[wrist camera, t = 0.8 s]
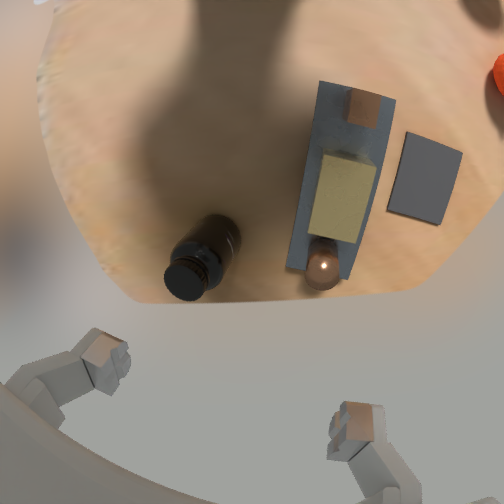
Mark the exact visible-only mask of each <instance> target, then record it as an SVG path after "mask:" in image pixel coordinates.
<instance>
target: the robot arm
mask: <svg viewBox="0 0 504 504" xmlns="http://www.w3.org/2000/svg"><path fill="white" fill-rule="evenodd" d="M127 350H128V344H127V342H126V341H123V340H121V339H119V338H117V337H114V336H112V335H110V334H108V333H106V332H104V331H101V330H99V329H97V328H93V329H91V330H90V331H89V332H88V333H87V334H86V335H85V336H84V337H83V338H82V339H81V340H80V342H79V343H78V344H77V345H76V346H75V347H74V348H73V349H72V350H71V351H70V352H68V351H65V352H62V353H59V354H56V355H53V356H50V357H47V358H44V359H41V360H38V361H35V362H32V363H28V364H25V365H22V366H21V367H20V368H19V369H18V370H17V371H16V372H15V374H14V375H13V376H12V377H11V378H10V379H9V380H8V381H7V382H6V384H5V385H3V384H2V383H1V382H0V504H217V503H213V502H209V501H206V500H203V499H199V498H196V497H193V496H190V495H187V494H184V493H181V492H178V491H176V490H173V489H170V488H167V487H165V486H162V485H160V484H157V483H155V482H153V481H150V480H148V479H146V478H143V477H141V476H139V475H137V474H134V473H132V472H130V471H128V470H126V469H124V468H122V467H120V466H118V465H116V464H114V463H112V462H110V461H108V460H106V459H105V458H103V457H101V456H99V455H98V454H96V453H94V452H92V451H91V450H89V449H87V448H86V447H84V446H82V445H81V444H79V443H78V442H76V441H74V440H73V439H71V438H70V437H68V436H67V435H65V434H64V433H62V432H61V431H59V430H58V428H59V427H60V425H61V424H62V422H63V421H64V420H65V416H64V414H63V413H62V411H61V410H60V409H59V407H60V406H62V405H64V404H66V403H68V402H70V401H72V400H74V399H76V398H78V397H80V396H82V395H84V394H86V393H88V392H90V391H91V390H93V389H94V388H95V389H97V390H99V391H101V392H103V393H105V394H108V395H110V396H112V395H113V393H114V392H115V391H116V389H117V388H118V386H119V379H121V378H123V377H125V376H126V375H127V373H128V372H129V368H130V366H131V357H130V355H129V354H128V352H127ZM329 436H330V437H331V439H332V440H331V441H330V443H329V444H328V450H327V460H335V461H345V462H348V465H349V467H350V469H351V471H352V473H353V475H354V477H355V479H356V480H357V483H358V485H359V487H360V488H361V491H362V492H363V494H364V496H365V498H366V499H365V500H363V501H361V502H359V503H357V504H422V489H421V483H420V482H419V480H418V479H417V478H416V476H415V475H414V474H413V472H412V471H411V470H410V468H409V467H408V466H407V464H406V463H405V462H404V460H403V459H402V457H401V456H400V455H399V453H398V452H397V451H396V449H395V448H394V447H393V445H392V444H391V443H387V433H386V421H385V411H384V407H383V406H382V405H374V404H367V403H358V402H348V401H344V402H343V403H342V404H341V405H340V411H338V412H336V413H335V414H334V416H333V417H332V420H331V422H330V427H329ZM468 504H500V503H499V502H498V501H497V500H496V499H495V498H493V497H487V498H484V499H481V500H478V501H474V502H471V503H468Z"/></svg>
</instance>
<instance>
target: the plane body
mask: <svg viewBox="0 0 504 504" xmlns="http://www.w3.org/2000/svg"><path fill="white" fill-rule="evenodd" d="M395 104H396V100H395V99H391V98H388V97H385V96H382V95H379V94H375V93H372V92H368V91H364V90H360V89H356V88H352V87H348V86H343V85H339V84H334V83H329V82H324V81H319V87H318V94H317V100H316V107H315V113H314V119H313V125H312V131H311V137H310V143H309V149H308V155H307V160H306V166H305V172H304V177H303V182H302V188H301V193H300V198H299V204H298V209H297V214H296V219H295V224H294V229H293V234H292V239H291V244H290V248H289V253H288V258H287V263H286V267H290V268H295V269H299V270H304V271H306V272H305V279H306V282H307V283H308V285H309V286H310V287H312V288H314V289H316V290H329V289H331V288H333V287H334V286H335V285H336V284H337V283H338V281H339V278H341V279H346V280H348V278H349V275H350V272H351V270H352V267H353V264H354V261H355V258H356V255H357V252H358V249H359V246H360V243H361V240H362V237H363V234H364V230H365V227H366V224H367V221H368V217H369V214H370V210H371V207H372V203H373V200H374V196H375V193H376V189H377V185H378V181H379V178H380V174H381V170H382V166H383V161H384V157H385V153H386V149H387V144H388V139H389V135H390V130H391V125H392V120H393V115H394V109H395ZM323 148H326V149H330V150H335V151H339V152H343V153H348V154H352V155H356V156H360V157H363V158H367V159H370V160H371V161H372V162H373V164H374V165H375V166H376V167H377V169H376V173H375V177H374V181H373V185H372V189H371V192H370V196H369V200H368V203H367V207H366V211H365V214H364V218H363V221H362V224H361V228H360V231H359V234H358V237H357V241H356V244H354V243H350V242H346V241H341V240H337V239H333V238H328V237H324V236H319V235H315V234H310V233H308V225H309V217H310V213H311V208H312V203H313V199H314V194H315V189H316V184H317V179H318V174H319V169H320V164H321V159H322V153H323Z"/></svg>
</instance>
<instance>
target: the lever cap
mask: <svg viewBox="0 0 504 504" xmlns="http://www.w3.org/2000/svg"><path fill="white" fill-rule="evenodd" d="M376 169H377V167H376V166H375V165H374V164H373V162H372V161H371V160H370V159H367V158H363V157H360V156H356V155H352V154H348V153H343V152H339V151H335V150H330V149H326V148H323V153H322V159H321V164H320V169H319V174H318V179H317V184H316V189H315V194H314V199H313V203H312V208H311V213H310V217H309V225H308V233H310V234H315V235H319V236H324V237H328V238H333V239H337V240H341V241H346V242H350V243H354V244H356V241H357V237H358V234H359V231H360V228H361V224H362V221H363V218H364V214H365V211H366V207H367V203H368V200H369V196H370V192H371V189H372V185H373V181H374V177H375V173H376Z"/></svg>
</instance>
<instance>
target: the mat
mask: <svg viewBox="0 0 504 504" xmlns="http://www.w3.org/2000/svg"><path fill="white" fill-rule="evenodd" d="M462 154H463V153H462V152H460V151H457V150H455V149H452V148H450V147H448V146H445V145H443V144H440V143H438V142H435V141H432V140H430V139H427V138H424V137H421V136H419V135H416V134H413V133H410V132H407V131H406V136H405V140H404V145H403V149H402V153H401V157H400V162H399V165H398V169H397V173H396V177H395V181H394V184H393V188H392V192H391V195H390V198H389V202H388V205H387V209H388V210H391V211H394V212H398V213H402V214H405V215H409V216H412V217H416V218H419V219H422V220H426V221H429V222H432V223H436V224H439V225H441V222H442V219H443V217H444V214H445V211H446V208H447V205H448V202H449V199H450V196H451V193H452V190H453V187H454V183H455V180H456V177H457V173H458V170H459V166H460V162H461V158H462Z"/></svg>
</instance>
